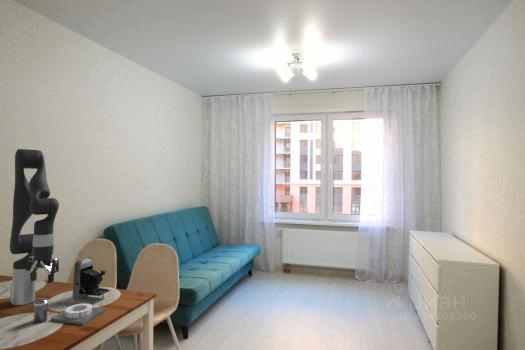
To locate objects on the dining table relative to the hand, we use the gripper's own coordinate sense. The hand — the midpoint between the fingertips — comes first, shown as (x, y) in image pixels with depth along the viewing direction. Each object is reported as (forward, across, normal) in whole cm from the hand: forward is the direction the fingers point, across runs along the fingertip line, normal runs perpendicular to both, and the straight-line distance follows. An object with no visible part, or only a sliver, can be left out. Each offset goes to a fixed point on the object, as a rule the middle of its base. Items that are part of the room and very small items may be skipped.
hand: (42, 281), depth 140 cm
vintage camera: (+17, +3, +28) cm, 33 cm away
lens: (+17, 0, 0) cm, 17 cm away
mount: (+17, +12, +8) cm, 22 cm away
